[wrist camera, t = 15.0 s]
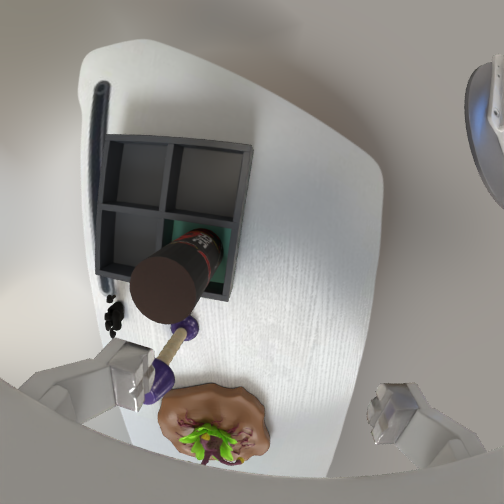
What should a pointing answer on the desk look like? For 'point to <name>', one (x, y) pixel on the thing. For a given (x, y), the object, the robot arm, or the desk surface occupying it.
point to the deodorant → (176, 276)
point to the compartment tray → (169, 201)
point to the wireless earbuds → (114, 316)
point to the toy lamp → (170, 358)
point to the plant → (214, 423)
